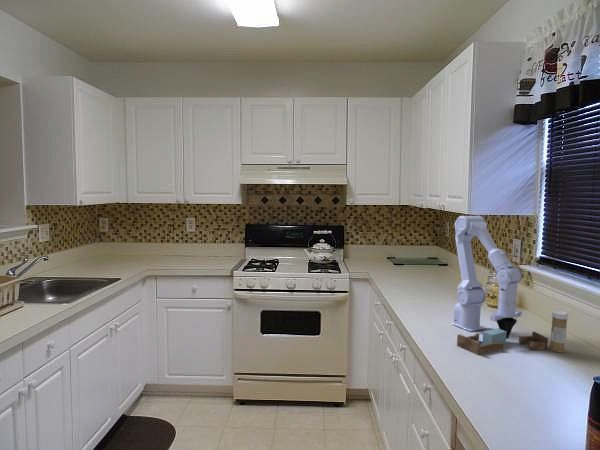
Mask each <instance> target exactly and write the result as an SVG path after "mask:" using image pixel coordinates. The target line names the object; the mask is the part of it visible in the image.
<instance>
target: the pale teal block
mask: <svg viewBox="0 0 600 450" xmlns="http://www.w3.org/2000/svg"><path fill="white" fill-rule="evenodd" d="M506 333H507V331H504V330H501V329H499V328H494V329H490V330H486V331H485V330H484V331H482V343H481V345H484V344H488V343H493V342H502V343H503V345H506V343H507V339H506Z"/></svg>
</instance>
